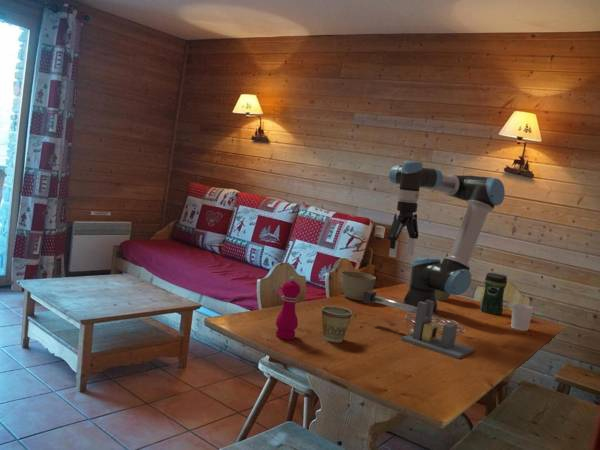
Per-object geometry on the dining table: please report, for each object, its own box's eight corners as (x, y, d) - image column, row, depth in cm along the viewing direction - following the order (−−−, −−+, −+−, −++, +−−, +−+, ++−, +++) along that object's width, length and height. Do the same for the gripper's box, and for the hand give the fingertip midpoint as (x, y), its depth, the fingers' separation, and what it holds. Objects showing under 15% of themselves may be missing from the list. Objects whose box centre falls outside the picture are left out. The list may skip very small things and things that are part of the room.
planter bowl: (364, 304, 232) (368, 280, 231) (331, 296, 240) (335, 273, 239) (378, 299, 246) (381, 276, 245) (346, 291, 254) (349, 269, 253)
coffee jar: (503, 313, 250) (509, 275, 248) (499, 316, 243) (506, 276, 241) (482, 308, 255) (488, 270, 253) (478, 311, 248) (484, 272, 246)
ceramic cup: (327, 345, 170) (331, 314, 169) (312, 334, 179) (316, 306, 178) (361, 343, 176) (365, 314, 175) (345, 333, 185) (349, 305, 184)
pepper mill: (273, 331, 177) (281, 273, 175) (295, 333, 177) (302, 275, 175) (274, 338, 169) (282, 277, 167) (296, 340, 170) (304, 280, 168)
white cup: (531, 332, 220) (535, 309, 219) (511, 329, 221) (515, 306, 220) (526, 327, 228) (530, 305, 227) (507, 324, 229) (511, 302, 228)
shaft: (363, 301, 202) (364, 291, 201) (368, 300, 205) (369, 290, 204) (416, 317, 188) (418, 306, 187) (421, 316, 191) (423, 305, 190)
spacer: (421, 340, 185) (423, 323, 185) (428, 337, 190) (431, 321, 190) (429, 342, 184) (431, 325, 183) (436, 339, 188) (439, 323, 188)
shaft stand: (401, 339, 186) (406, 301, 185) (419, 333, 197) (424, 296, 195) (458, 358, 173) (465, 317, 172) (474, 351, 184) (480, 311, 182)
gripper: (400, 202, 191) (393, 260, 194) (431, 202, 211) (424, 255, 213) (382, 200, 196) (376, 256, 199) (414, 200, 215) (407, 251, 218)
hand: (401, 255), depth 206 cm, fingers open, 13 cm apart
